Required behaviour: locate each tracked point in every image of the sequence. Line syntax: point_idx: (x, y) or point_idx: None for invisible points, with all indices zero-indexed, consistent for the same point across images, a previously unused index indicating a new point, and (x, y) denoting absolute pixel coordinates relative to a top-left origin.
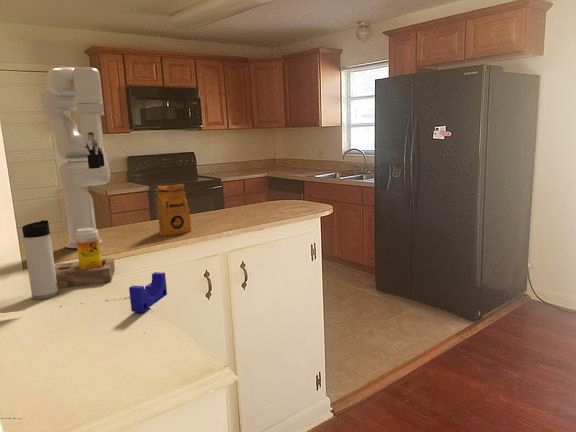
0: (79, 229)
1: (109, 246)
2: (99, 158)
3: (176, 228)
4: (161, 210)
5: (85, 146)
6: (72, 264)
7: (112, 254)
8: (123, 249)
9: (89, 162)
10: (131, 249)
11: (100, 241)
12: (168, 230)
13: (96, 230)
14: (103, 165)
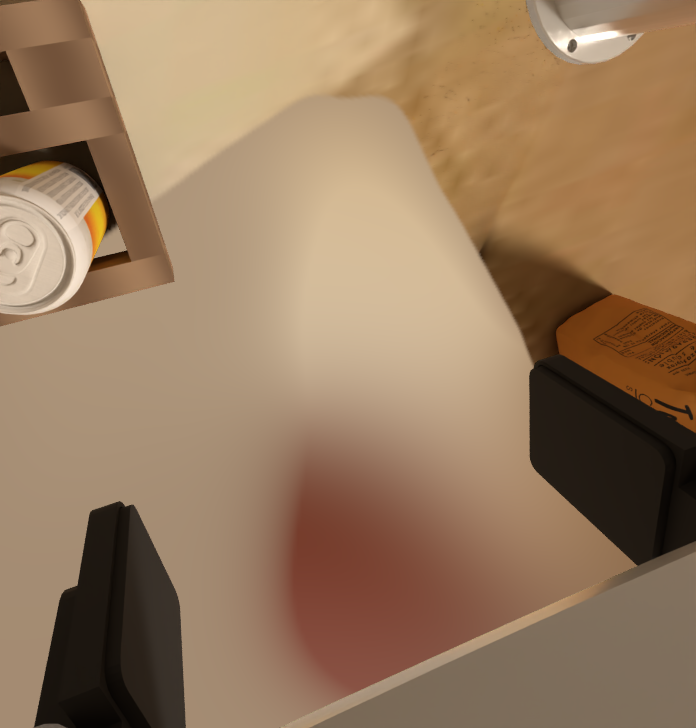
0: (16, 202)
1: (573, 99)
2: (599, 492)
3: None
4: (654, 374)
5: (552, 658)
6: (66, 107)
7: (430, 164)
8: (498, 188)
9: (88, 590)
10: (486, 225)
11: (581, 62)
12: (578, 359)
13: (28, 313)
14: (533, 464)
